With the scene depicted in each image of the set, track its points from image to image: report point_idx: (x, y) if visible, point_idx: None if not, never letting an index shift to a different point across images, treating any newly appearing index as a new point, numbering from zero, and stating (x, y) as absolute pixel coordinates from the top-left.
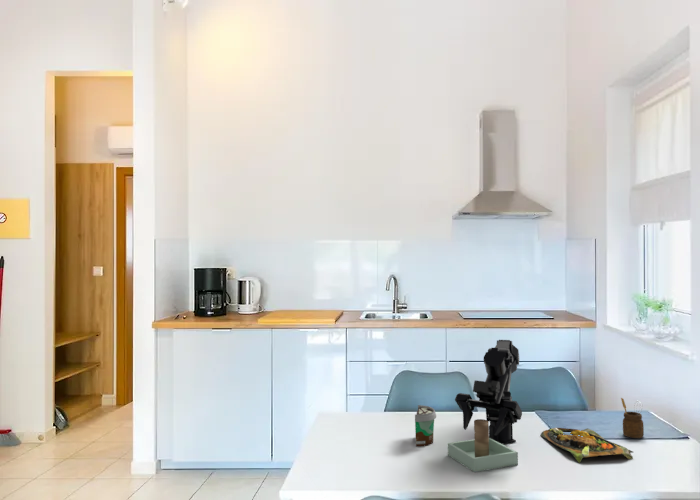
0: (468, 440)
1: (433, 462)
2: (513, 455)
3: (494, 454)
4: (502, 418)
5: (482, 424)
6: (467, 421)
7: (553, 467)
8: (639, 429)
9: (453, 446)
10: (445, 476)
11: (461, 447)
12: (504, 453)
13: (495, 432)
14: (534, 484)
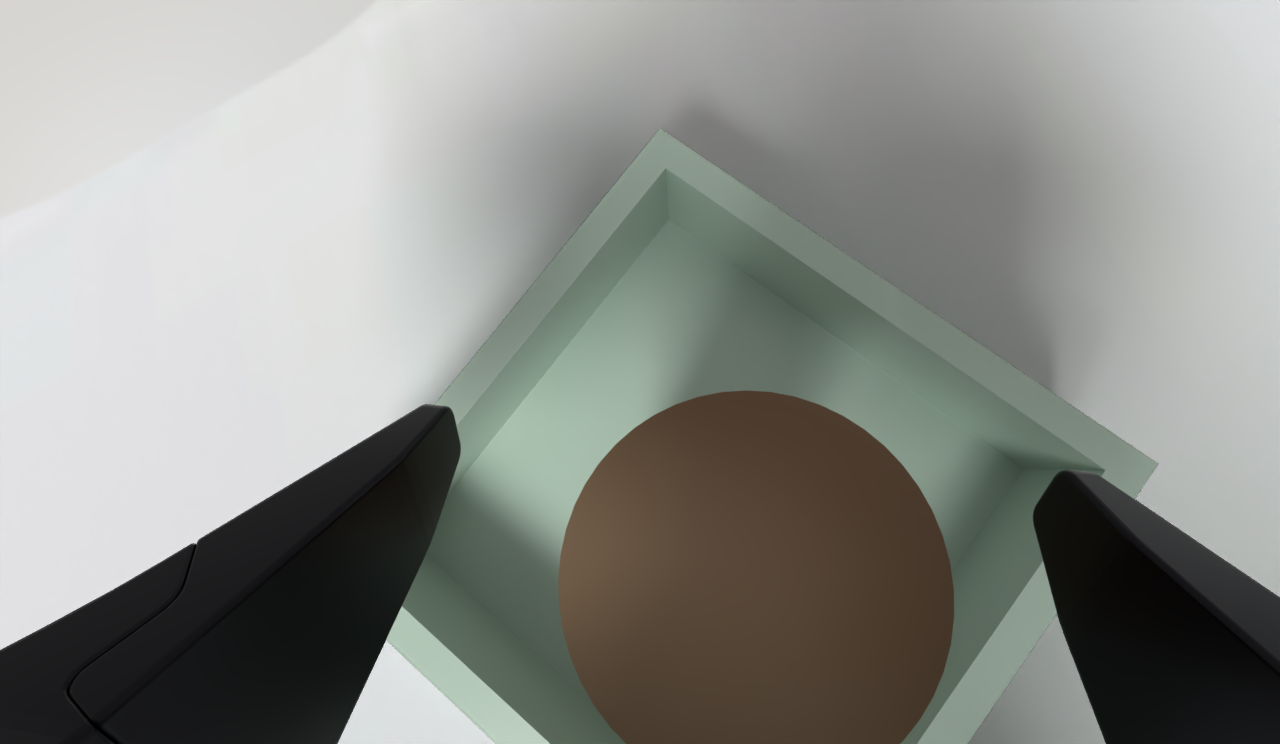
0: (972, 713)
1: (1075, 220)
2: None
3: None
4: (32, 640)
5: (658, 417)
6: (1155, 670)
7: None
8: None
9: (1029, 382)
10: (831, 5)
11: (985, 576)
12: None
13: (411, 412)
14: (206, 200)
